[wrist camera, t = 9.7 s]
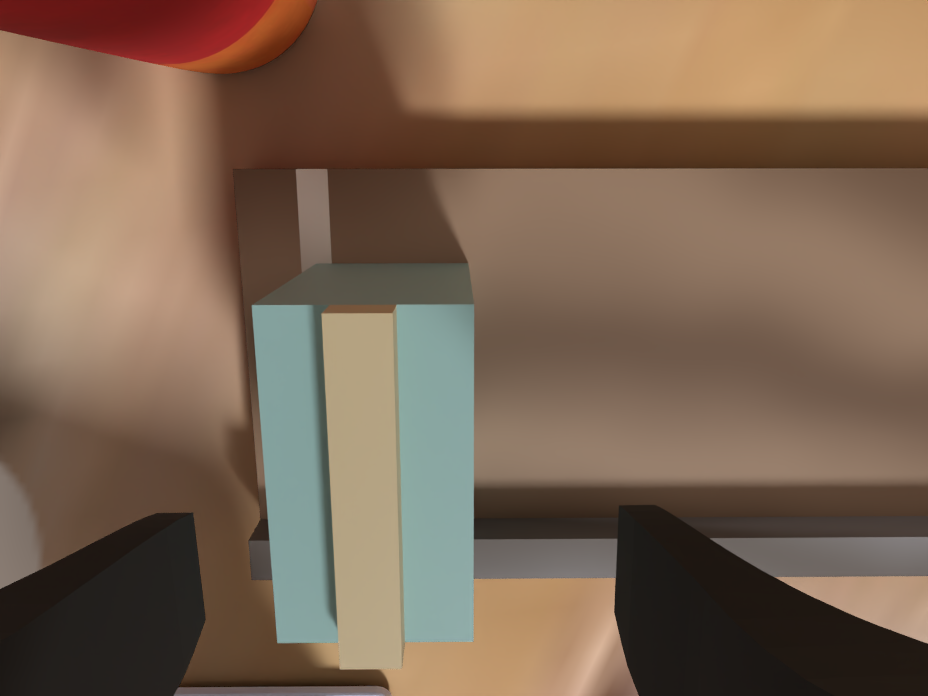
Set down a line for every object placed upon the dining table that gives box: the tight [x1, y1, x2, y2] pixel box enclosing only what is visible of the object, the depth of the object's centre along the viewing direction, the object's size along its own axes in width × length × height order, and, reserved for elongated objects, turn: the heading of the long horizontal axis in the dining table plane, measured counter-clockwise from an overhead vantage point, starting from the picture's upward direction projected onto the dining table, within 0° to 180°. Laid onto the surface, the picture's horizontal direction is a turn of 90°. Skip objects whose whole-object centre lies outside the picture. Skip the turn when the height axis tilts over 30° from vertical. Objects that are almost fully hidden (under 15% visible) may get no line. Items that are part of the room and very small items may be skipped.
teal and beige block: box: [252, 263, 474, 670], centre depth 16 cm, size 7×4×7 cm, turn 0°
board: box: [233, 168, 928, 580], centre depth 19 cm, size 11×23×3 cm, turn 90°
